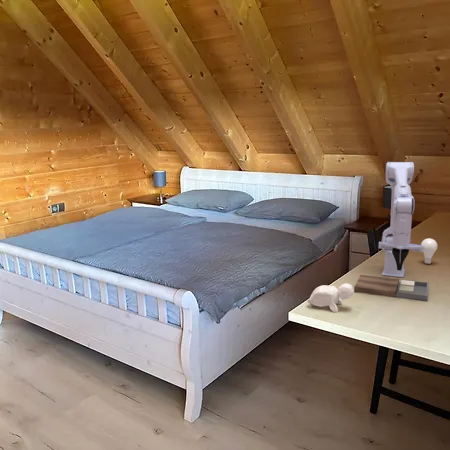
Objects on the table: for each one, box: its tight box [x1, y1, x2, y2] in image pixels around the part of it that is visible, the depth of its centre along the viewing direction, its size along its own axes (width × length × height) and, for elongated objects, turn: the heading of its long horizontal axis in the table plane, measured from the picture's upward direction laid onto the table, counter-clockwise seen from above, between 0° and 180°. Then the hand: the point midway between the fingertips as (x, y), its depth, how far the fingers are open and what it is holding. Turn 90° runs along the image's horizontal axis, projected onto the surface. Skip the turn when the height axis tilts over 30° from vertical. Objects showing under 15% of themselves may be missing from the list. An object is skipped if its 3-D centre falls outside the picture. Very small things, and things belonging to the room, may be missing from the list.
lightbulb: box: [420, 237, 438, 265], centre depth 199 cm, size 6×6×11 cm
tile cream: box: [400, 279, 416, 287], centre depth 172 cm, size 4×4×2 cm
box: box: [395, 279, 430, 302], centre depth 169 cm, size 14×10×2 cm
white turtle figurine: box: [306, 282, 355, 313], centre depth 157 cm, size 9×8×15 cm
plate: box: [353, 274, 400, 298], centre depth 174 cm, size 14×14×2 cm
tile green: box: [399, 285, 414, 293], centre depth 167 cm, size 4×4×2 cm
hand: (399, 269), depth 167 cm, fingers closed
